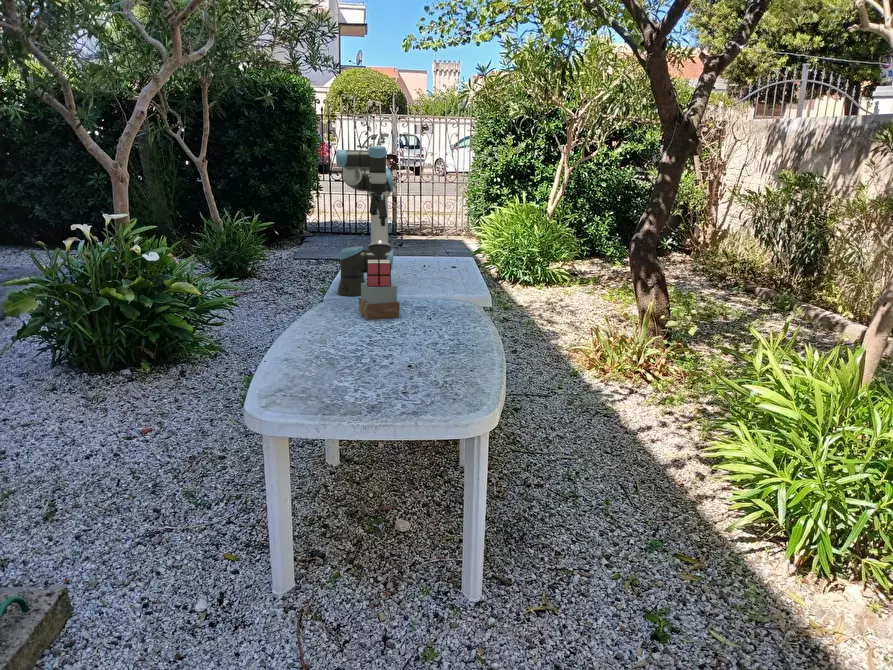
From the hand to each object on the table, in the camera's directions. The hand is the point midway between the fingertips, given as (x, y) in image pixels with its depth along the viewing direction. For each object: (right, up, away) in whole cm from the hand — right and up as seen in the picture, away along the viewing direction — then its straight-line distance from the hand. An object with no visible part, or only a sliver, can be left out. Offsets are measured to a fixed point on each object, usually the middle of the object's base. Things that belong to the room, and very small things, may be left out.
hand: (378, 231), depth 284 cm
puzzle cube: (+1, -25, -10) cm, 27 cm away
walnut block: (+1, -38, -7) cm, 39 cm away
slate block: (+1, -31, -9) cm, 32 cm away
